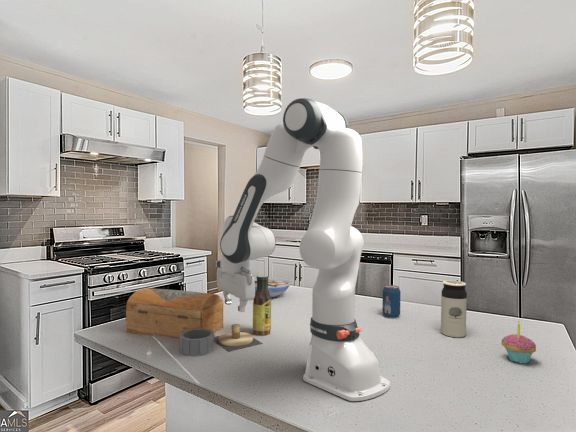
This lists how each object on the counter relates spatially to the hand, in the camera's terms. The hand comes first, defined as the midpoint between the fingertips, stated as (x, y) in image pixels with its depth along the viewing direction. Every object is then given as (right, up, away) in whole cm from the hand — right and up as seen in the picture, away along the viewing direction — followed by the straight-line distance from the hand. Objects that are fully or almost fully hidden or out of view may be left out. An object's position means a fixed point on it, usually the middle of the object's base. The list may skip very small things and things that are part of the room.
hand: (234, 307), depth 120 cm
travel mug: (+75, -12, +9) cm, 76 cm away
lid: (0, -11, 0) cm, 11 cm away
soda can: (+59, -11, +30) cm, 67 cm away
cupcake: (+84, -12, -12) cm, 85 cm away
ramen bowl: (+7, -10, +61) cm, 62 cm away
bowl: (-10, -11, -8) cm, 17 cm away
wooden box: (-22, -11, +11) cm, 27 cm away
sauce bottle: (+8, -11, +8) cm, 16 cm away
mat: (0, -11, 0) cm, 11 cm away
